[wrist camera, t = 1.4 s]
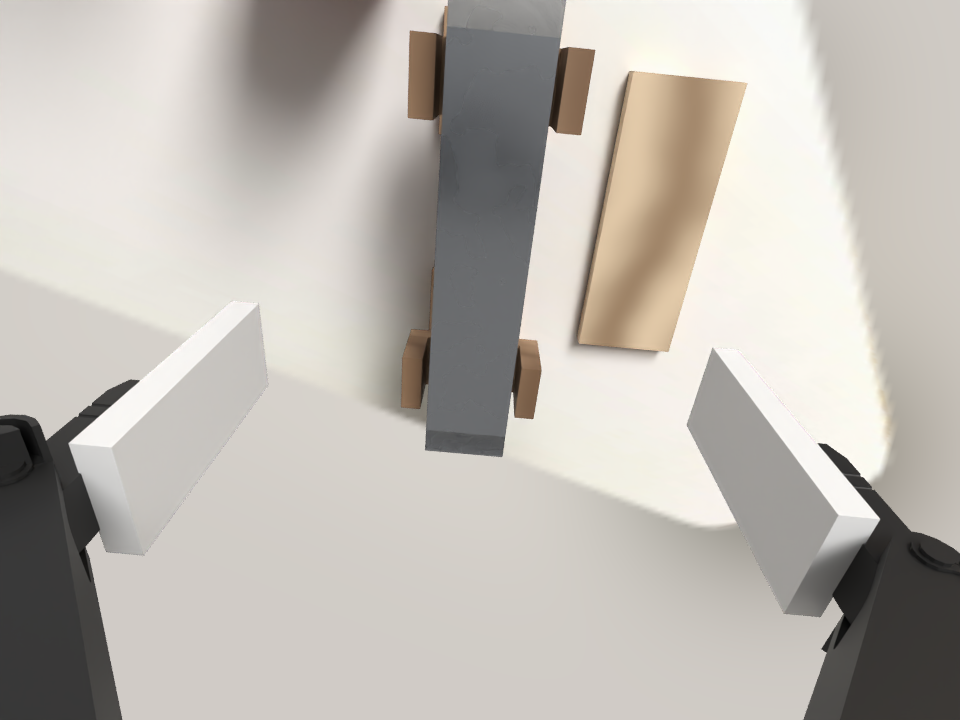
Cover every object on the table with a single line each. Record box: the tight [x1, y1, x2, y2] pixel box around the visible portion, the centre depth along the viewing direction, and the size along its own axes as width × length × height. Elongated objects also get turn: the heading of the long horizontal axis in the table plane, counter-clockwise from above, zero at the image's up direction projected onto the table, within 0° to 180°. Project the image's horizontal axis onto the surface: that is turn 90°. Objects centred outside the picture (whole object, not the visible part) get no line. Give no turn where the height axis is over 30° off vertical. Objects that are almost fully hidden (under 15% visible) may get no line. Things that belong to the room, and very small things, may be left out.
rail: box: [425, 0, 566, 457], centre depth 25 cm, size 4×20×4 cm, turn 175°
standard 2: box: [408, 6, 595, 135], centre depth 25 cm, size 7×6×10 cm
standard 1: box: [401, 267, 541, 419], centre depth 32 cm, size 7×6×10 cm
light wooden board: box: [577, 71, 747, 352], centre depth 32 cm, size 6×16×1 cm, turn 175°
